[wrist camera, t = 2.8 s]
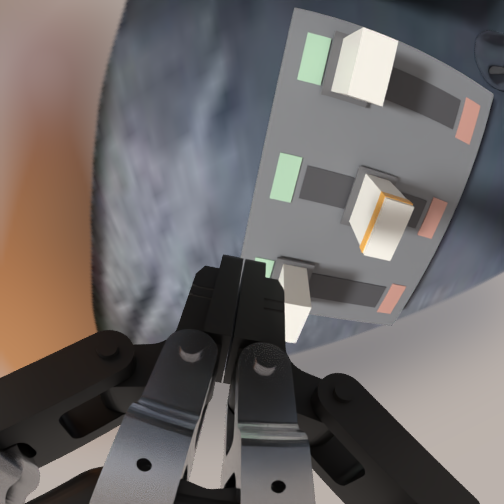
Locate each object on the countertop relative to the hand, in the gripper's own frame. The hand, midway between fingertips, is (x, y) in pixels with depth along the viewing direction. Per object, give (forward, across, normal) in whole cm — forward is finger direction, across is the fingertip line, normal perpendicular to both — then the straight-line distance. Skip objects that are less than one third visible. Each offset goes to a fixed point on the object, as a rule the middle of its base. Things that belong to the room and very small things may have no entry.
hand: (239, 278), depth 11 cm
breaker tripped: (+12, -9, 0) cm, 15 cm away
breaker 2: (+12, -5, -9) cm, 16 cm away
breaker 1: (+12, -5, +9) cm, 16 cm away
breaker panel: (+16, -9, 0) cm, 18 cm away
